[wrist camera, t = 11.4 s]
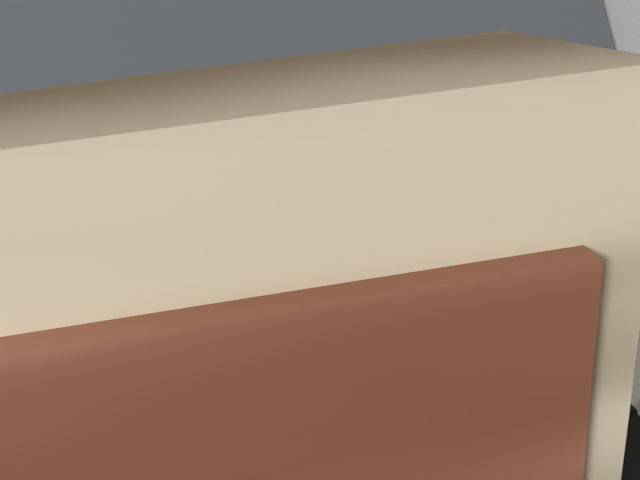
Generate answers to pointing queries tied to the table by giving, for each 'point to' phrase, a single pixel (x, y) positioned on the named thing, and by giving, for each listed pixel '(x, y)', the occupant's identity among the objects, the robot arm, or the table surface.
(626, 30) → the table surface
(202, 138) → the card box
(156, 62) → the mat
